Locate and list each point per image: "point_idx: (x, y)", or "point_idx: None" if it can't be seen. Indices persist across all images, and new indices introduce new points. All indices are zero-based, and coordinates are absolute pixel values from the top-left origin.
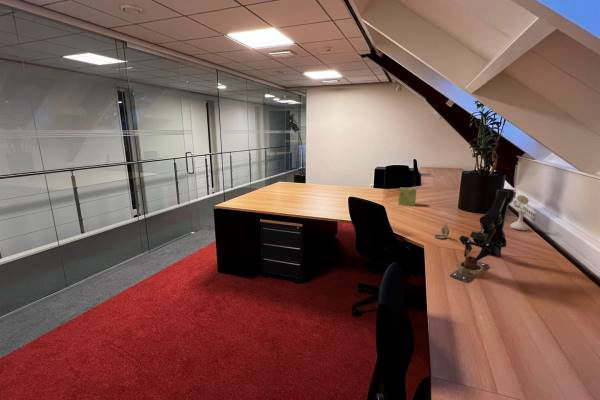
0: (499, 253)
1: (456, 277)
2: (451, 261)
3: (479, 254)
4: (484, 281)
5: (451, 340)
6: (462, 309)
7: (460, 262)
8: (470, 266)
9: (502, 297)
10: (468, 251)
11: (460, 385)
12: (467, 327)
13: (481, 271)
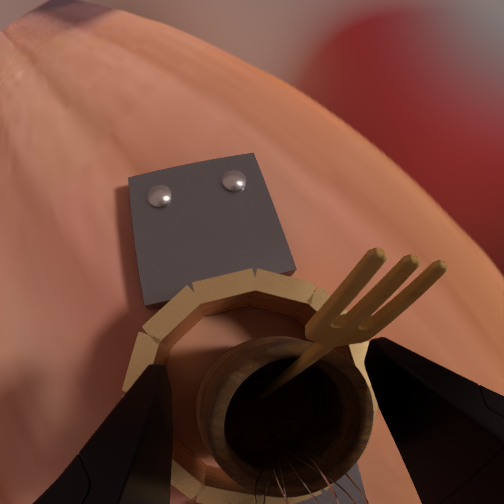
0: None
1: (204, 164)
2: None
3: (106, 460)
4: (68, 323)
5: (60, 15)
6: (65, 54)
7: None
8: (225, 352)
9: None
10: (346, 278)
11: (36, 9)
12: (41, 39)
13: None
